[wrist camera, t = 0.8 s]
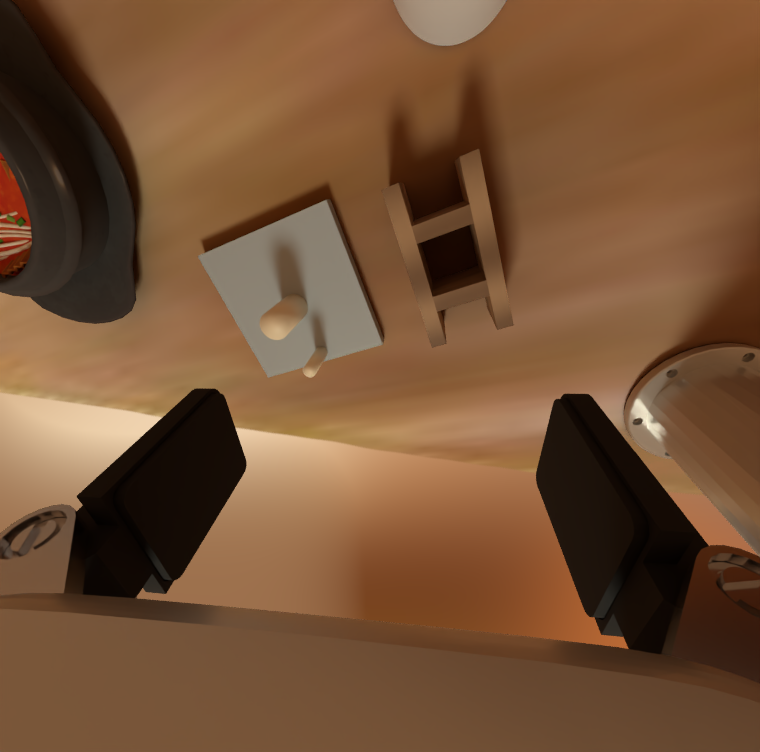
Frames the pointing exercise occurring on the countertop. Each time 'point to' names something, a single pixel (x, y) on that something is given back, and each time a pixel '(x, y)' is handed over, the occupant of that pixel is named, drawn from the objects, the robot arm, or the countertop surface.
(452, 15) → the pill bottle
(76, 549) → the robot arm
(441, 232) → the wooden h-shaped stand
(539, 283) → the countertop surface
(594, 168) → the countertop surface
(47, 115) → the black low round piece
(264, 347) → the base
